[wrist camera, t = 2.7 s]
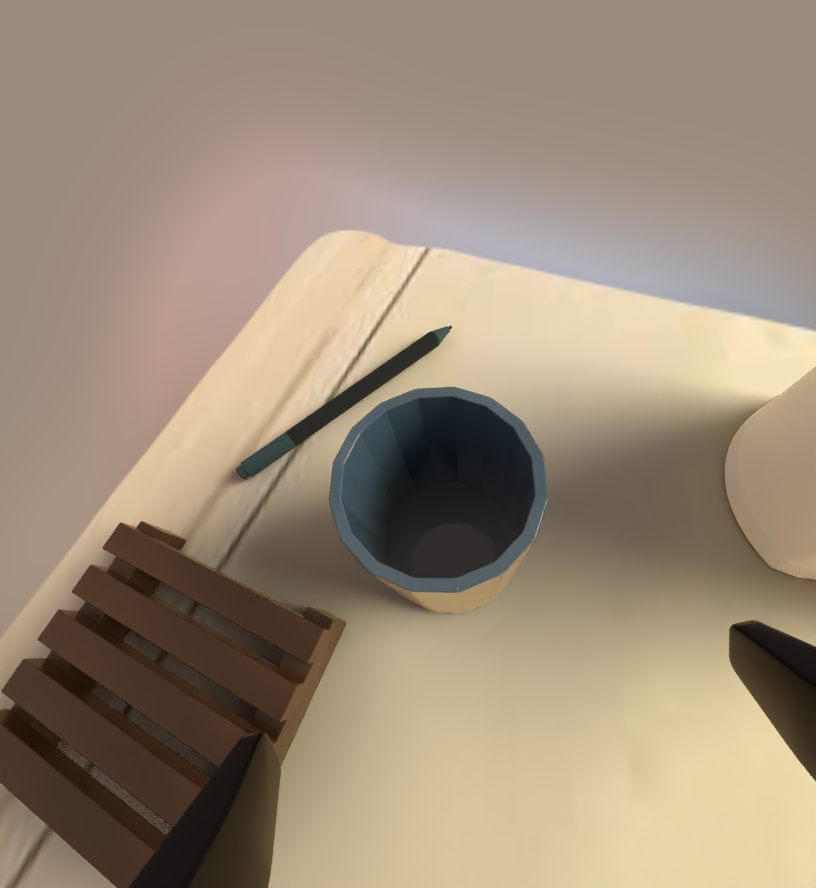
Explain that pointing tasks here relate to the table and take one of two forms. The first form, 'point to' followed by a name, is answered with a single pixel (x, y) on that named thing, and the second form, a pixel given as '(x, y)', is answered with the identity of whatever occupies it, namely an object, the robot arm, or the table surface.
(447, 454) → the cup
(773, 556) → the jar
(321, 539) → the table surface
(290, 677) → the rack
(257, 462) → the pen
